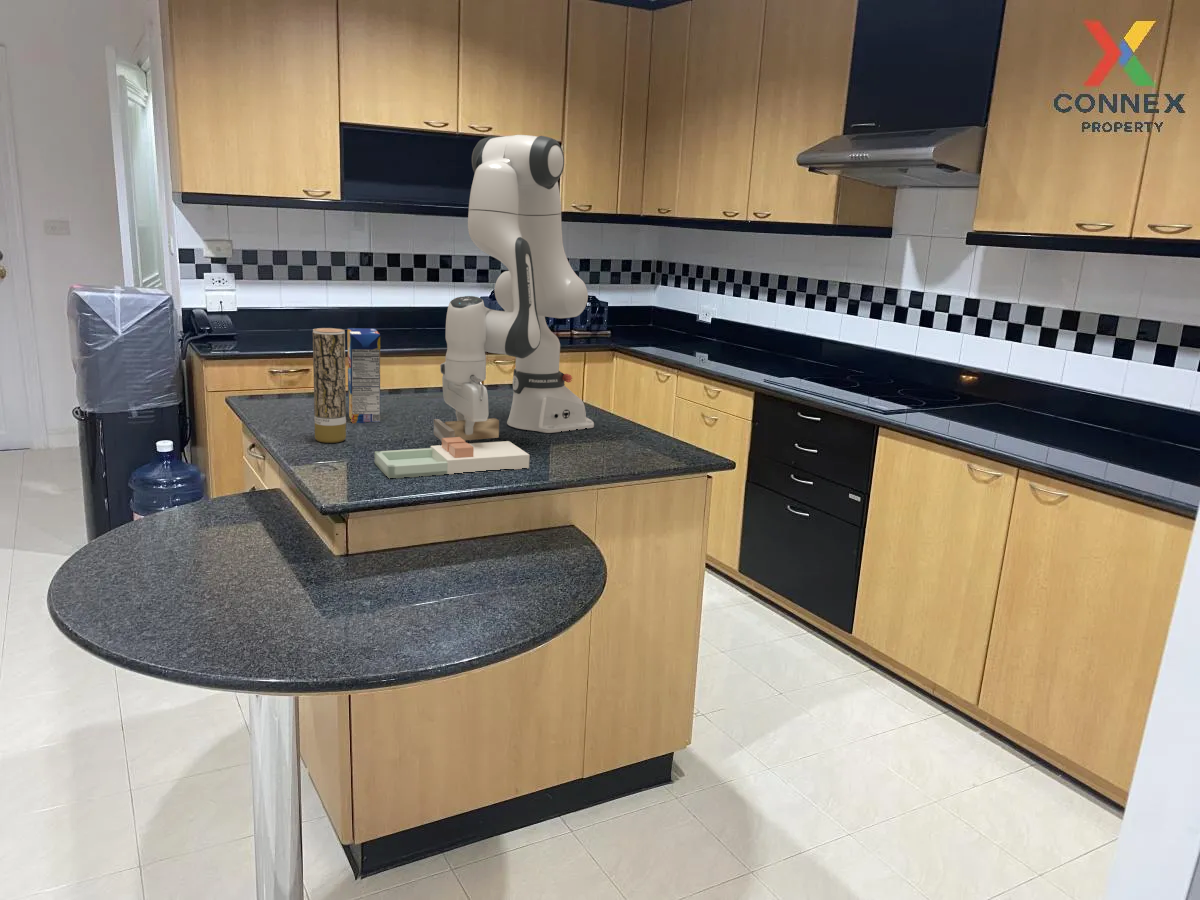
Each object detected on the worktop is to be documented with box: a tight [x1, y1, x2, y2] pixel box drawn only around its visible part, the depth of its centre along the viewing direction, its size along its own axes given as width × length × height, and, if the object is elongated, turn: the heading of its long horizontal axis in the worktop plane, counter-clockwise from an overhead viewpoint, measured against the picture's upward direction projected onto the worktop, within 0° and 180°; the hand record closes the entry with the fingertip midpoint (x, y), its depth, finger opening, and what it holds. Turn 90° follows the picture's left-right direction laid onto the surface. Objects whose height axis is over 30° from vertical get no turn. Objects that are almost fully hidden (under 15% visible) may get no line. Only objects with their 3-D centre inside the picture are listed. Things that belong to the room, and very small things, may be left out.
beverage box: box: [346, 327, 381, 424], centre depth 222 cm, size 7×11×22 cm, turn 20°
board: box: [429, 440, 530, 475], centre depth 190 cm, size 18×12×3 cm, turn 117°
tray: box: [373, 447, 448, 480], centre depth 183 cm, size 12×12×2 cm
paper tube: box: [312, 327, 347, 444], centre depth 199 cm, size 7×7×25 cm
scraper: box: [433, 417, 500, 442], centre depth 201 cm, size 13×11×4 cm
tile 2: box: [449, 442, 474, 458], centre depth 185 cm, size 4×4×2 cm
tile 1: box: [441, 437, 467, 452], centre depth 189 cm, size 4×4×2 cm
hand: (465, 431), depth 200 cm, fingers closed on scraper, 2 cm apart
